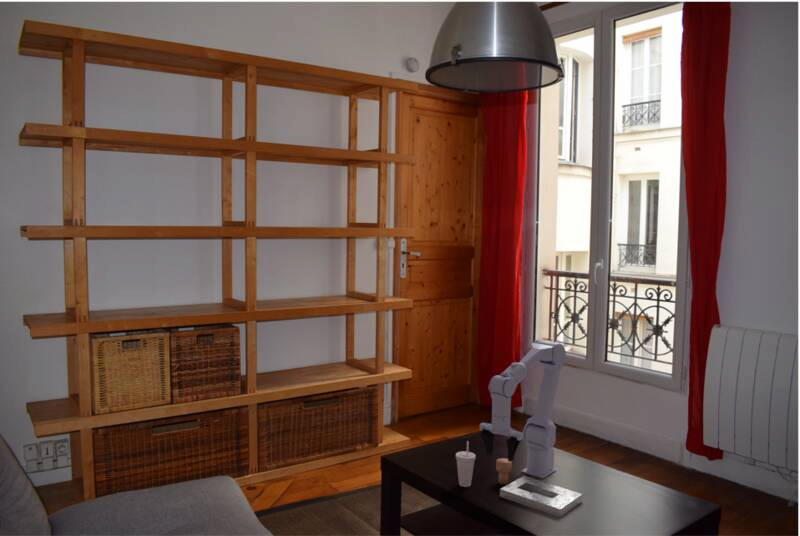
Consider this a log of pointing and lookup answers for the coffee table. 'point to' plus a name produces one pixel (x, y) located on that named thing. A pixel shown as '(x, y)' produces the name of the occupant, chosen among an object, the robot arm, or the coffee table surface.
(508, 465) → the peg
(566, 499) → the keyhole plate
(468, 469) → the smoothie
